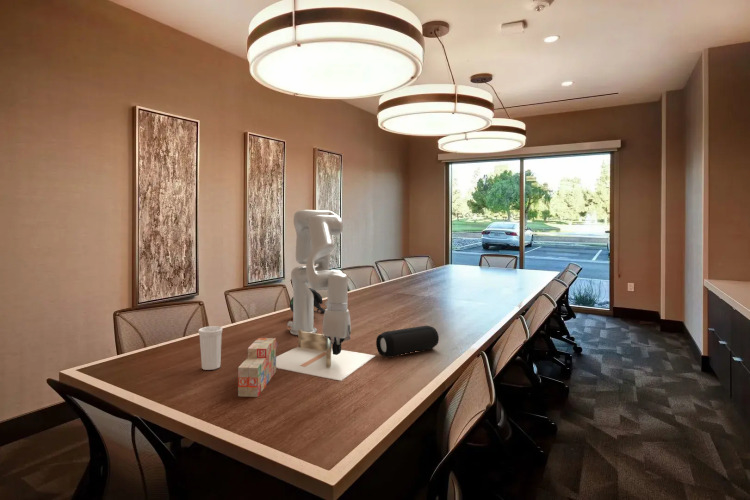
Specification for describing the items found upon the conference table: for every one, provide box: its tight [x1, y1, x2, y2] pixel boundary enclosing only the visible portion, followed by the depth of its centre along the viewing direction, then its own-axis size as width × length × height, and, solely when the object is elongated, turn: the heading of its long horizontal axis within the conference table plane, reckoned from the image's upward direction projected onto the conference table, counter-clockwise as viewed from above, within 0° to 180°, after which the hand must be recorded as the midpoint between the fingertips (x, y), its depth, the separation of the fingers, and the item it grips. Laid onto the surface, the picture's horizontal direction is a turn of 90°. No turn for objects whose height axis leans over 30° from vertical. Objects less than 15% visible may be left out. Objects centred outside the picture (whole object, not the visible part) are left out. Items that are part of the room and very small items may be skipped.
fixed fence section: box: [297, 329, 332, 351], centre depth 170 cm, size 16×2×8 cm, turn 66°
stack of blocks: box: [237, 337, 277, 398], centre depth 135 cm, size 21×6×12 cm, turn 179°
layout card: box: [276, 346, 376, 382], centre depth 158 cm, size 34×28×1 cm
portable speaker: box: [375, 325, 439, 358], centre depth 168 cm, size 26×10×10 cm, turn 121°
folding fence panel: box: [326, 338, 331, 367], centre depth 157 cm, size 18×2×6 cm, turn 6°
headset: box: [289, 287, 327, 314], centre depth 228 cm, size 16×12×27 cm
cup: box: [197, 325, 223, 371], centre depth 148 cm, size 8×8×14 cm
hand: (336, 353), depth 156 cm, fingers closed
